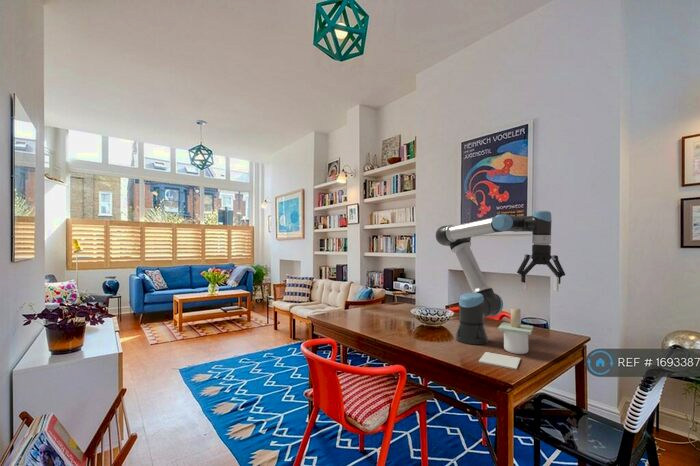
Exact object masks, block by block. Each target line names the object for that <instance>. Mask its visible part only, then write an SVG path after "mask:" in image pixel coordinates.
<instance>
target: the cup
mask: <svg viewBox="0 0 700 466" xmlns="http://www.w3.org/2000/svg"><path fill="white" fill-rule="evenodd" d="M503 349H504V350H505V351H506V352H508V353H510V354H515V355H525V354H528V352H529V335H528V334H521V333H514V332H506V331H503Z"/></svg>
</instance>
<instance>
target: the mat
mask: <svg viewBox="0 0 700 466" xmlns="http://www.w3.org/2000/svg"><path fill="white" fill-rule="evenodd" d="M521 360H522V358H521V357H516V356H511V355H506V354H500V353H493V352H489V351H488V352H487V351H485V352H484V353H483V354H482V356H481V357H480V358H479V360H478V363H479V364H484V365H489V366H495V367H500V368H506V369H511V370H515V371H517V370H518V367H519V364H520V362H521Z"/></svg>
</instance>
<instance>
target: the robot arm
mask: <svg viewBox="0 0 700 466" xmlns="http://www.w3.org/2000/svg"><path fill="white" fill-rule="evenodd" d="M552 222H553V220H552V212H551V211H549V210H537V211H533V212H532V215H523V216H522V215H513V214H505V213H503V214H497V215H495V216H493V217H489V218H483V219H480V220H474V221H470V222H467V223H466V222H465V223H462V224H458V225H457V224H456V225H454V224H449V225H442V226H440V227H438V228H437V230H436V232H435V240H436V242H437V243H438V244H439V245H441V246H444V247H445V246H446V247H449V249H450V251H451V252H452V253H454V254H456V257H457V259H458V262H459V265H460V267H461V268H462V271H463V273H464V275H465V279H466V281H467V282H468V284H469V285H468V286H469V287H470V289H471V292H466V293H465V292H464V293H463V294H461V295H460V296H459V299H458V300H459V301H458V306H459V307H458V310H459V311H458V312H459V315H458V316H459V320H458V321H459V323H458V324H459V325H458V327H457V330H456V333H455V340H456V341H457V342H460V343H463V344H466V345H467V344H468V345H486V344H488V341H489V339H488V335H487V331H486V328H485V327H484V326H485V325H484V323H485V322H484V321H485V318H490V317H491V318H492V317H495V316H498V315H500V313H501V312H502V311H503V309H504V301H503V299H502V297H501V296H500V295H499V294H497V293H495V291H494V290H493V288H492V287H491V286H489V285H488V283H487V281H486V280H485V277H484V274H483V273H482V271H481V269H480V266H479V263H478V262H477V260H476V258H475V255H474V253H473V251H472V249H471V246H472V242H471V241H472V238H474V237H478V236H484V235H488V234H490V235H491V234H496V233H502V232H503V233H504V232H512V233H513V232H514V233H519V232H521V233H523V232H525V233H528V232H529V233H530V232H531V233H532V234H531V235H532V237H531V238H532V239H531V240H532V241H531V243H532V245H531V252H532V253H531V254H524V258H523V261H521V264H520V266H519V267H518V269H517V271H516V273H517V274H519V275H520V276H521V278H520V279H521V280H520V281H521V283H522V289H523V290H524V291H528V275H527V274H528V273H529V272H530V271H531V270H532V269H533V268H534V267H535V266H536V265H543V266H546V267H548V268H549V270H551V272H552V273H553V274H554V275H555V276H553V291H554V292H559V285H560V284H561V278H562V277H563V276H566V273H565V271H564V269H563V266H562V264H561V263H560V260H559V256H558V255H557V254H556V255H555V254H553V255H552V254H551V253H552V246H551V244H552ZM531 259H532V261H530V260H531ZM551 260H552V261H553V263H554V265H555V266H554V265H553V263H552V262H551ZM529 262H530V263H529ZM528 263H529V264H528Z"/></svg>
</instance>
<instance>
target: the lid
mask: <svg viewBox="0 0 700 466" xmlns="http://www.w3.org/2000/svg"><path fill="white" fill-rule="evenodd" d="M533 329H534V326H533V325H529V324H522V320H521V309H520V308H510V322H505V321H504V322H503V321H502V322H501V324H500V325H499V326H498V327H497V331H501V332H504V331H506V332H514V333H521V334H528V336H530V335H532V333H533Z"/></svg>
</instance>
